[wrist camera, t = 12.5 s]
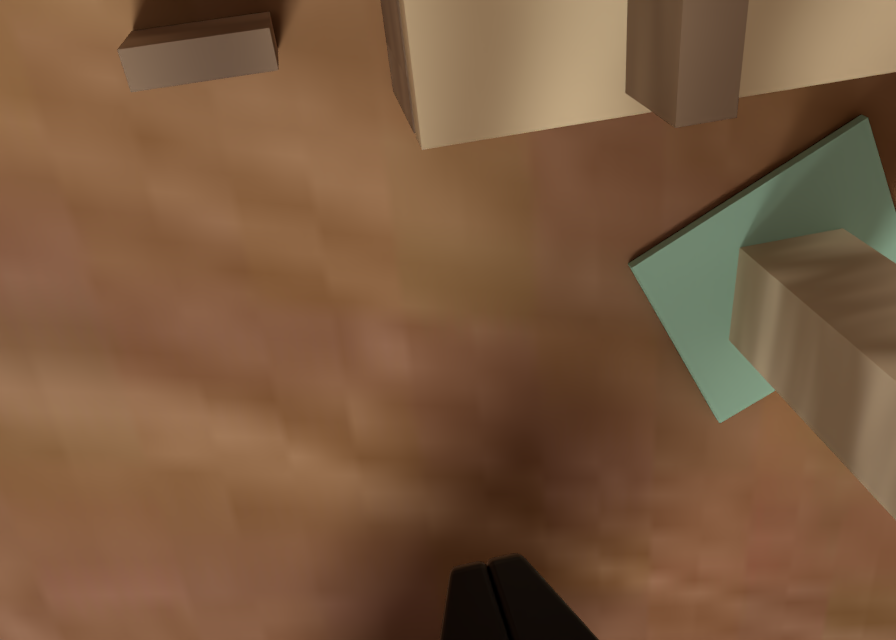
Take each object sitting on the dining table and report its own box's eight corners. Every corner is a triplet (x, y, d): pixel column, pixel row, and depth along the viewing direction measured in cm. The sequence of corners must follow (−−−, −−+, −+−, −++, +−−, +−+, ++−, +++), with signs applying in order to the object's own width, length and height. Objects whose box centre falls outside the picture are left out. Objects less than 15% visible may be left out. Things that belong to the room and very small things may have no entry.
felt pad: (715, 418, 28) (719, 423, 28) (627, 263, 24) (631, 268, 24) (916, 298, 27) (922, 303, 27) (861, 114, 23) (867, 117, 22)
